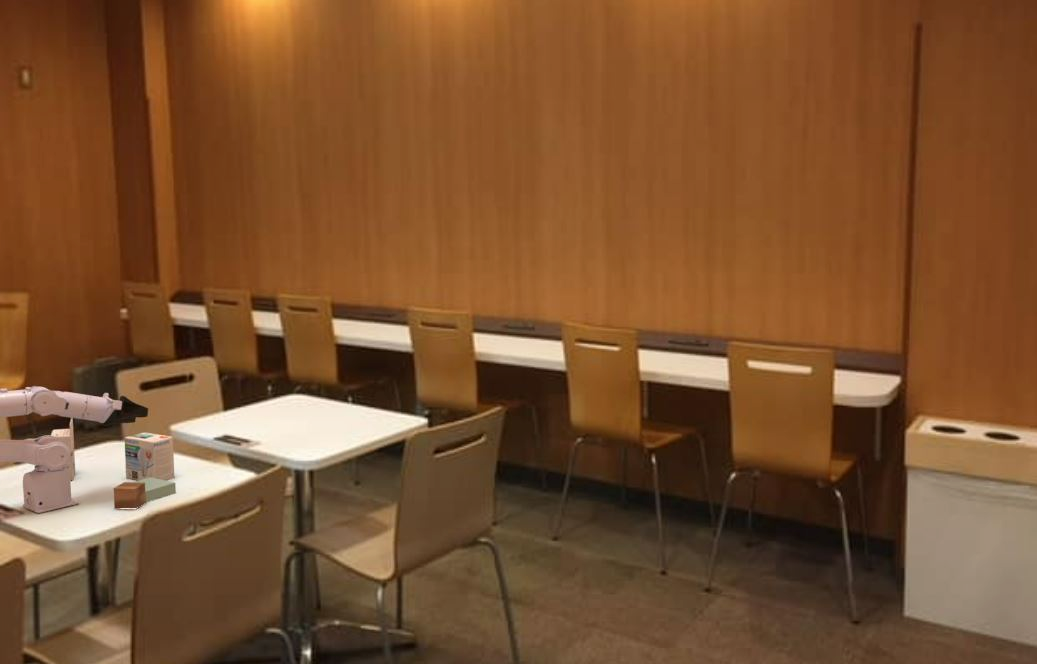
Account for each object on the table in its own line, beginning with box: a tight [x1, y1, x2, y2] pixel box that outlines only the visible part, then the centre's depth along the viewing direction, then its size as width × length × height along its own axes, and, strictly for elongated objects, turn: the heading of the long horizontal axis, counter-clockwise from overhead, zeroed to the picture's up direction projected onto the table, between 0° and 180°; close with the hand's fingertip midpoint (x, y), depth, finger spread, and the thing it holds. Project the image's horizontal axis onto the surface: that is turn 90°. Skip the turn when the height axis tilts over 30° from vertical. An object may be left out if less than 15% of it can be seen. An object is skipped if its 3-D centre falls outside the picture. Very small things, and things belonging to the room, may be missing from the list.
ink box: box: [50, 418, 76, 481], centre depth 241 cm, size 9×5×15 cm, turn 22°
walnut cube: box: [113, 481, 147, 509], centre depth 218 cm, size 5×5×5 cm
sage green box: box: [135, 477, 177, 503], centre depth 227 cm, size 9×9×3 cm
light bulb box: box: [124, 431, 176, 481], centre depth 241 cm, size 11×7×11 cm, turn 62°
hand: (141, 415), depth 230 cm, fingers open, 7 cm apart
